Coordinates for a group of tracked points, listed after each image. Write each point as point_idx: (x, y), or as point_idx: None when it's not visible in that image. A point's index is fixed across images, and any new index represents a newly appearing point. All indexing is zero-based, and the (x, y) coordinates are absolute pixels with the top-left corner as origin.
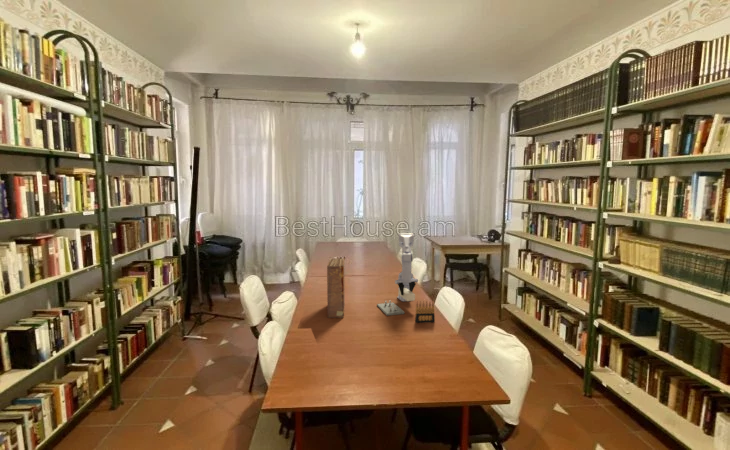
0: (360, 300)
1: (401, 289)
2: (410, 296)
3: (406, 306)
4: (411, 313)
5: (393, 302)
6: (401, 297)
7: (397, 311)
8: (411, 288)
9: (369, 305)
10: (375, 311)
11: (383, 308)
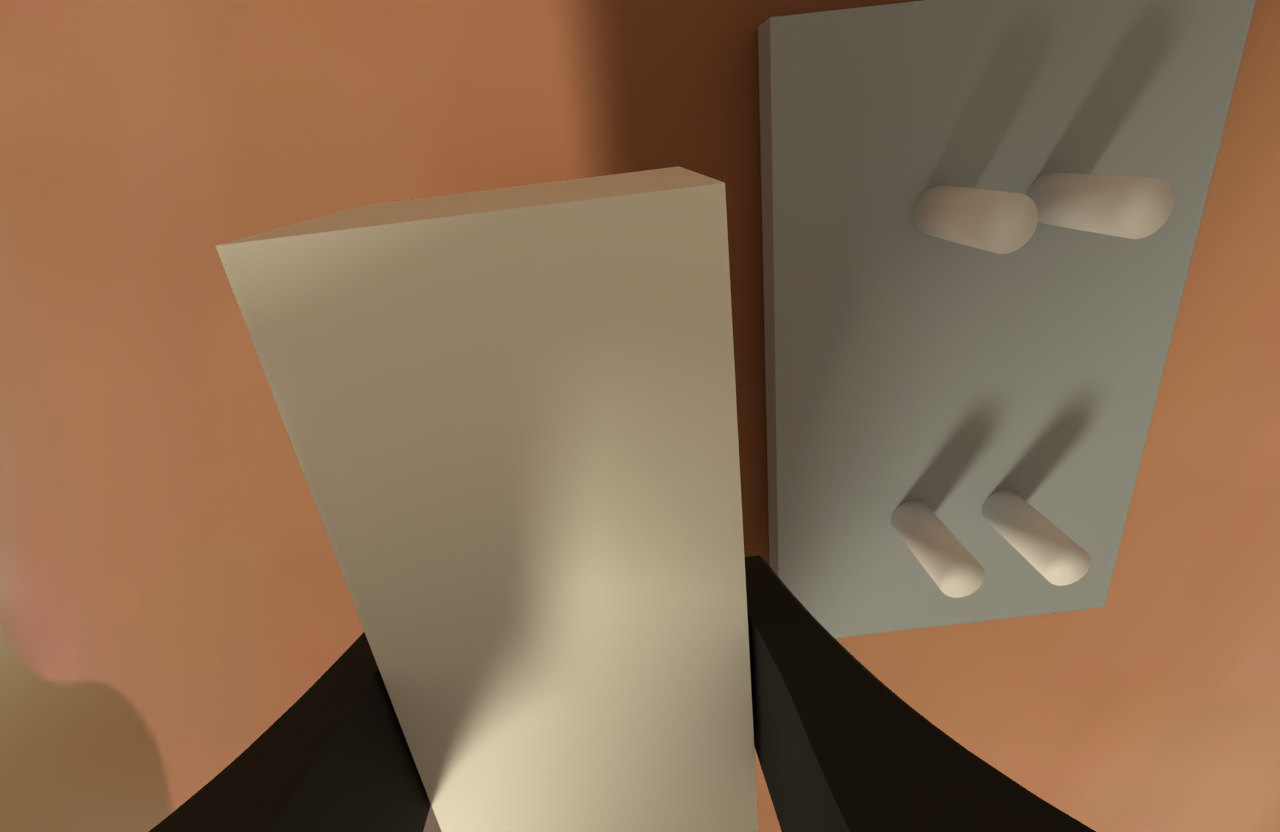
0: (1181, 807)
1: (919, 715)
2: (529, 200)
3: None
4: (575, 22)
5: None
6: None
7: (930, 87)
8: (308, 804)
9: (1183, 616)
10: (1272, 313)
11: (1128, 356)
